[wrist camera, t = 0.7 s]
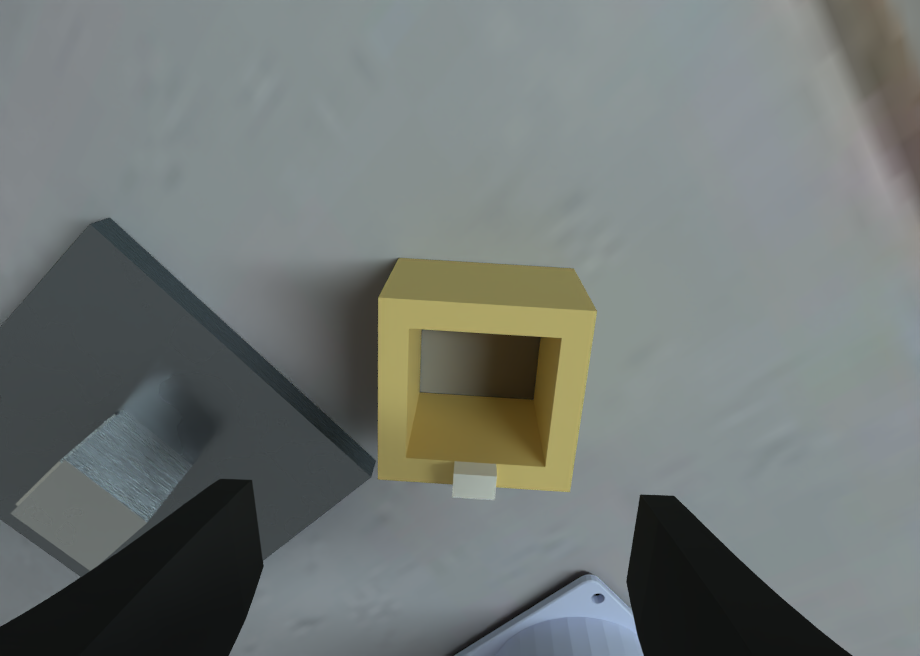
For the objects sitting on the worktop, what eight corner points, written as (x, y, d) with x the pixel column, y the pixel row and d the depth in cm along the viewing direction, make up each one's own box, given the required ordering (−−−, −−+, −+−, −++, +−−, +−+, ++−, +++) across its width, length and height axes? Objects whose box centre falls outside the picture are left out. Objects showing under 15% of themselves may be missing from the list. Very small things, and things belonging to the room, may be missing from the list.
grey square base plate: (375, 460, 21) (353, 536, 18) (176, 616, 25) (122, 708, 21) (109, 217, 18) (15, 247, 15) (-78, 430, 22) (-194, 499, 18)
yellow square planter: (573, 268, 19) (601, 319, 14) (553, 421, 21) (572, 505, 16) (398, 257, 19) (374, 305, 14) (396, 411, 21) (374, 492, 16)
